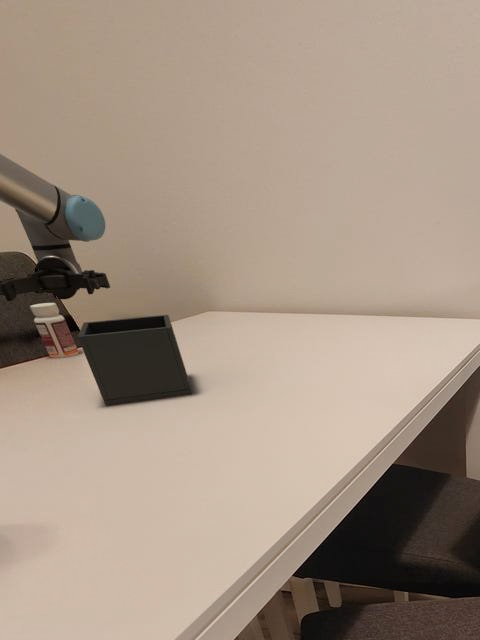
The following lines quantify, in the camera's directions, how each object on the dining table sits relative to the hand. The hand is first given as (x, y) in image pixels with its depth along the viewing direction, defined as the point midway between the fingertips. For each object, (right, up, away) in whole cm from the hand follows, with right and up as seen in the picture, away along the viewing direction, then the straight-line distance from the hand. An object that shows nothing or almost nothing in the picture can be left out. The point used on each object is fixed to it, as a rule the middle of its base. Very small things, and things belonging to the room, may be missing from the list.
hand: (47, 289), depth 111 cm
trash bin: (+33, -29, -23) cm, 50 cm away
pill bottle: (+5, -14, -3) cm, 15 cm away
